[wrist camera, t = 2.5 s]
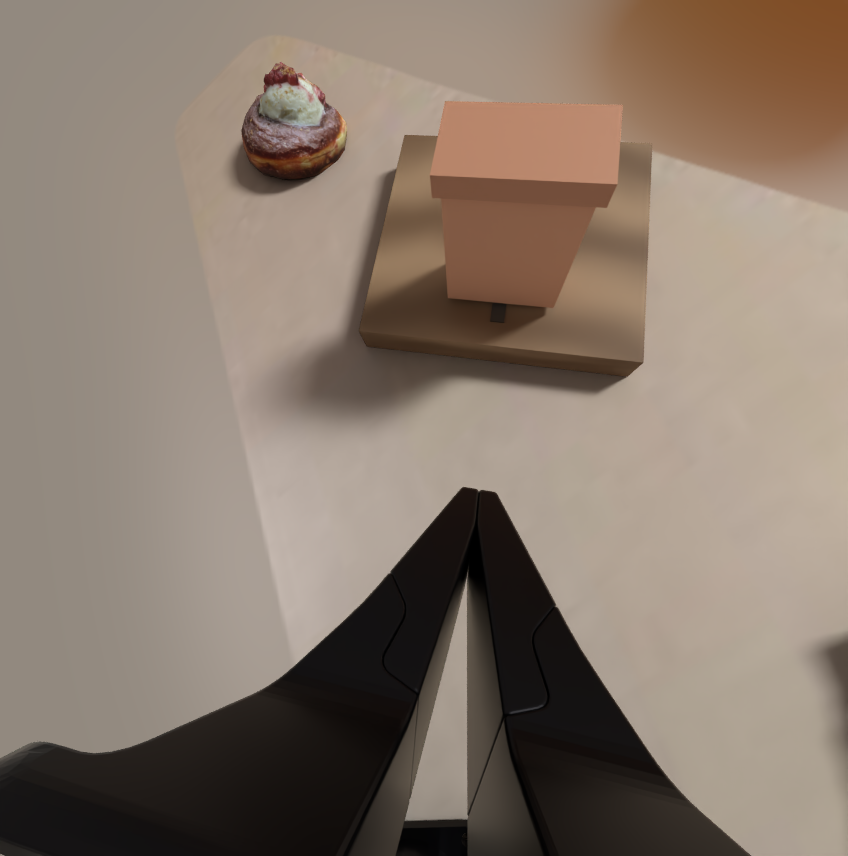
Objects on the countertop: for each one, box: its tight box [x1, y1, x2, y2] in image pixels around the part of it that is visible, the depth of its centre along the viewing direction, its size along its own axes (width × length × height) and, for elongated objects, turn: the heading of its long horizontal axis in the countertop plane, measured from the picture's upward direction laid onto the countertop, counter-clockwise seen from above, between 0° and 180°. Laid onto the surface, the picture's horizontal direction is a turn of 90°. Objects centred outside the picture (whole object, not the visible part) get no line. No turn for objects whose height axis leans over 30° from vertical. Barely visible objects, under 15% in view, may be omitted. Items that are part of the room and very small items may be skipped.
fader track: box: [359, 135, 652, 377], centre depth 24 cm, size 15×16×2 cm
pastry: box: [242, 62, 347, 180], centre depth 27 cm, size 8×8×5 cm
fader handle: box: [430, 101, 623, 308], centre depth 18 cm, size 4×7×8 cm, turn 80°
